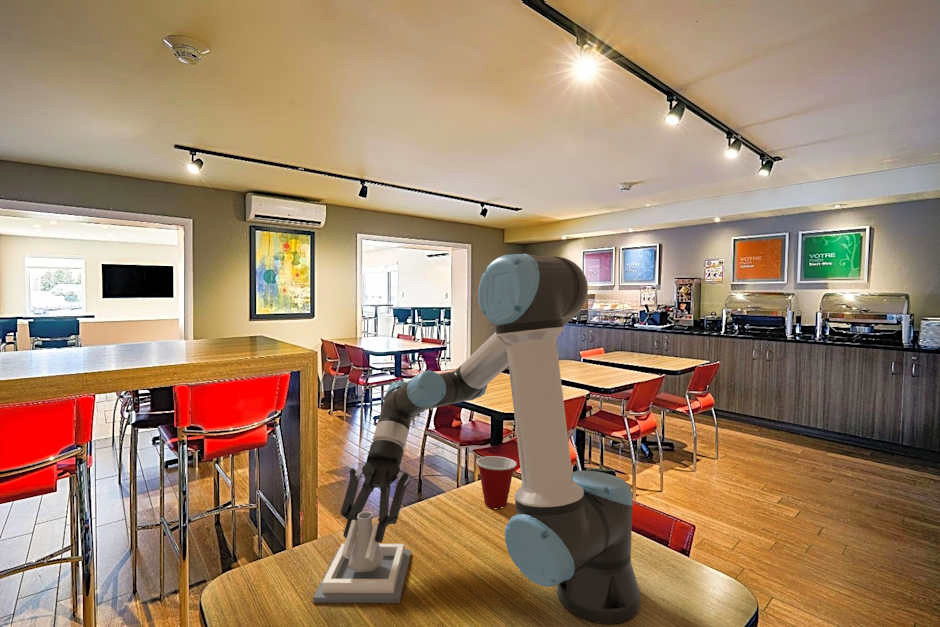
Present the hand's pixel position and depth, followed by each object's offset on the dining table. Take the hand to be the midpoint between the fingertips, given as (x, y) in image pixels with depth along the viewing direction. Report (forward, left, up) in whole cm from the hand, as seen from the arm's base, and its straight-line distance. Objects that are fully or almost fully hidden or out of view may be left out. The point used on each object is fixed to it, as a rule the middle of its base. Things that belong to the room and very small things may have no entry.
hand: (357, 557), depth 91 cm
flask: (+2, -4, -4) cm, 5 cm away
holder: (+1, -3, -6) cm, 7 cm away
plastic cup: (-3, -45, -6) cm, 46 cm away
